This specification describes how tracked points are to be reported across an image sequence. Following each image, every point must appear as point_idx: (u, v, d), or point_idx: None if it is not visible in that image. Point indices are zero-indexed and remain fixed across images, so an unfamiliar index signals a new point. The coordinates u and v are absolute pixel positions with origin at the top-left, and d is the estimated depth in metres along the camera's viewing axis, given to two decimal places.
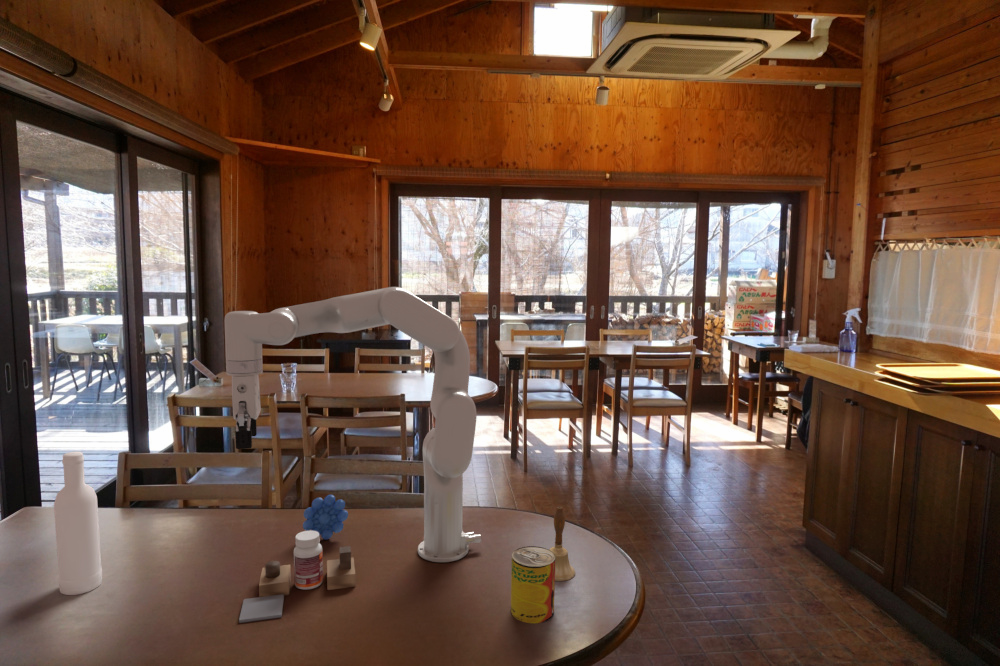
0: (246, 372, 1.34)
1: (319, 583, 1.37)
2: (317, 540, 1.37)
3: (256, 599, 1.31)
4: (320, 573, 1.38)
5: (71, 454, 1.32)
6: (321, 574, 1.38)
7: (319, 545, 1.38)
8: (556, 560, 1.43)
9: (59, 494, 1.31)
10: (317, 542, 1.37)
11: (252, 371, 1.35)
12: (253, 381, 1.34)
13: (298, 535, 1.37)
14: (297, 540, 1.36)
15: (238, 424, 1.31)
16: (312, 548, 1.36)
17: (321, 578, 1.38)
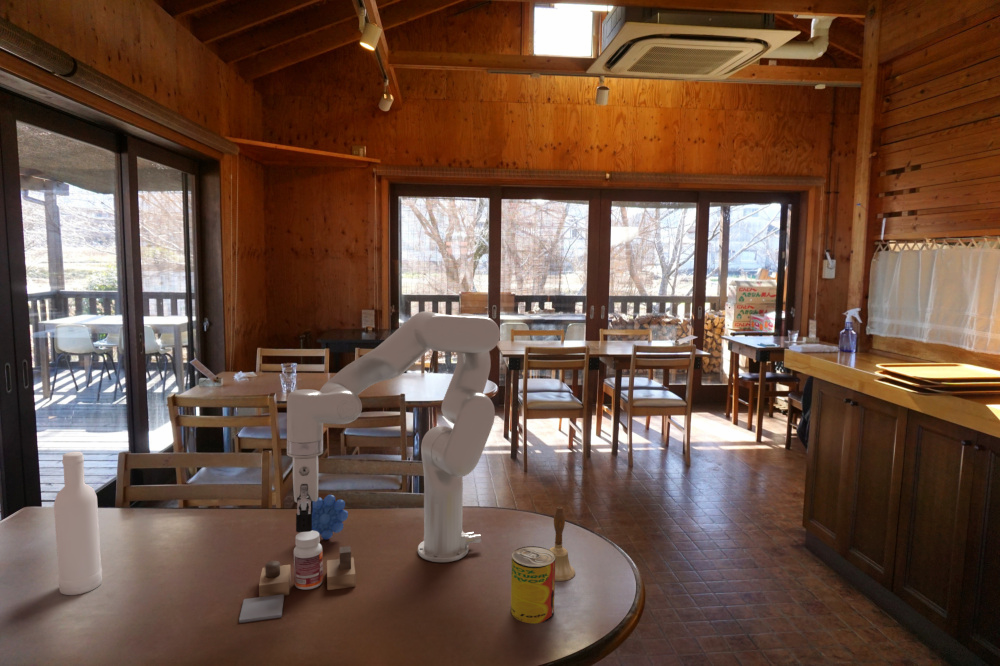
0: (308, 454, 1.32)
1: (319, 583, 1.37)
2: (317, 540, 1.37)
3: (256, 599, 1.31)
4: (320, 573, 1.38)
5: (71, 454, 1.32)
6: (321, 574, 1.38)
7: (319, 545, 1.38)
8: (556, 560, 1.43)
9: (59, 494, 1.31)
10: (317, 542, 1.37)
11: (314, 452, 1.33)
12: (315, 463, 1.32)
13: (298, 535, 1.37)
14: (297, 540, 1.36)
15: (300, 509, 1.29)
16: (312, 548, 1.36)
17: (321, 578, 1.38)
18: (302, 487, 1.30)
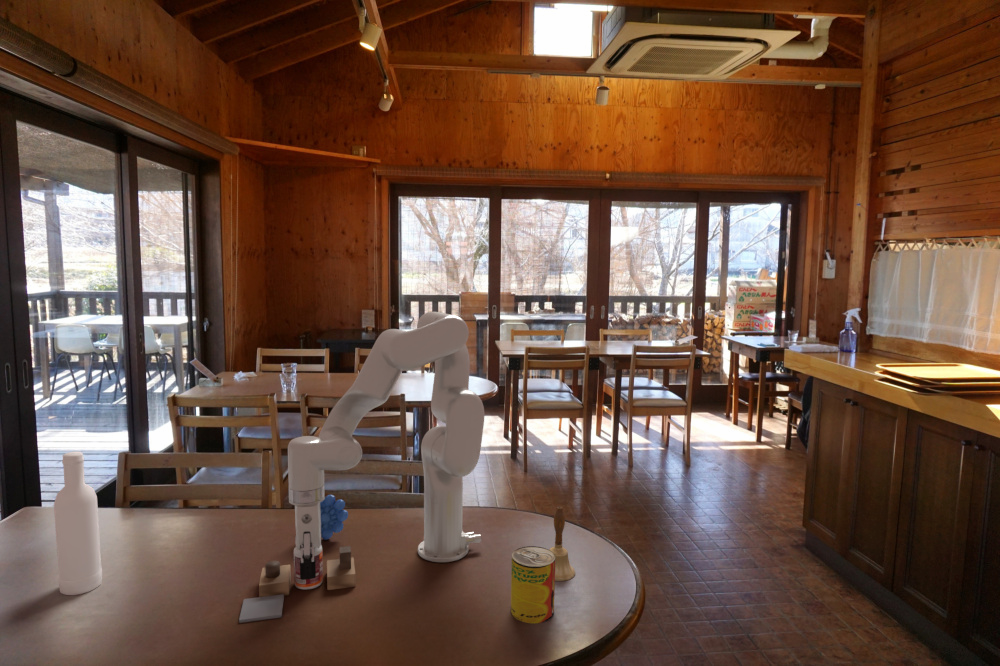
0: (310, 501, 1.33)
1: (319, 583, 1.37)
2: None
3: (256, 599, 1.31)
4: (320, 573, 1.38)
5: (71, 454, 1.32)
6: (321, 574, 1.38)
7: None
8: (556, 560, 1.43)
9: (59, 494, 1.31)
10: None
11: (316, 500, 1.34)
12: (317, 510, 1.33)
13: None
14: None
15: (304, 558, 1.32)
16: None
17: (321, 578, 1.38)
18: (305, 537, 1.32)
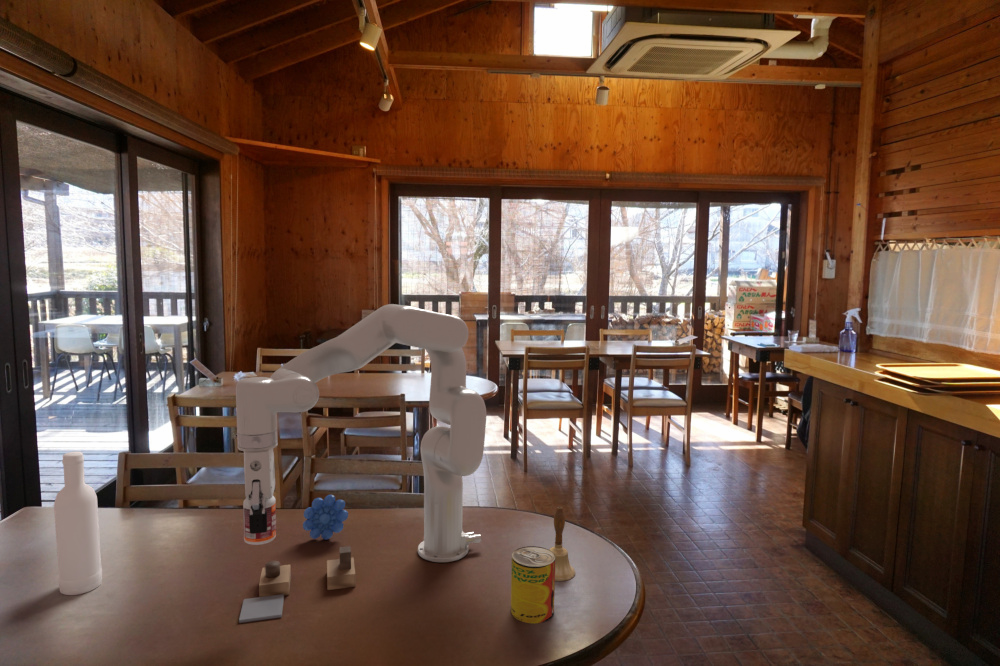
0: (260, 447, 1.21)
1: (271, 538, 1.25)
2: None
3: (256, 599, 1.31)
4: (273, 527, 1.25)
5: (71, 454, 1.32)
6: (273, 529, 1.26)
7: (272, 497, 1.26)
8: (556, 560, 1.43)
9: (59, 494, 1.31)
10: None
11: (266, 445, 1.22)
12: (268, 457, 1.21)
13: None
14: None
15: (252, 508, 1.19)
16: None
17: (273, 533, 1.26)
18: (254, 486, 1.20)
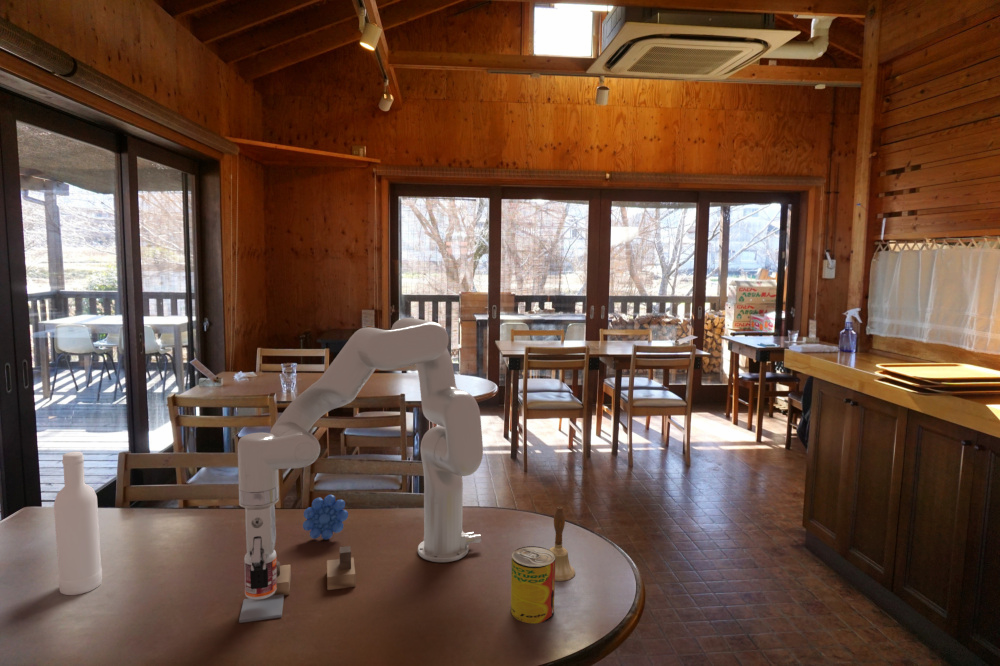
0: (261, 504, 1.22)
1: (271, 593, 1.26)
2: None
3: (256, 599, 1.31)
4: (273, 582, 1.27)
5: (71, 454, 1.32)
6: (274, 583, 1.27)
7: None
8: (556, 560, 1.43)
9: (59, 494, 1.31)
10: None
11: (268, 502, 1.23)
12: (269, 513, 1.22)
13: None
14: None
15: (254, 565, 1.21)
16: None
17: (274, 587, 1.27)
18: (255, 543, 1.21)
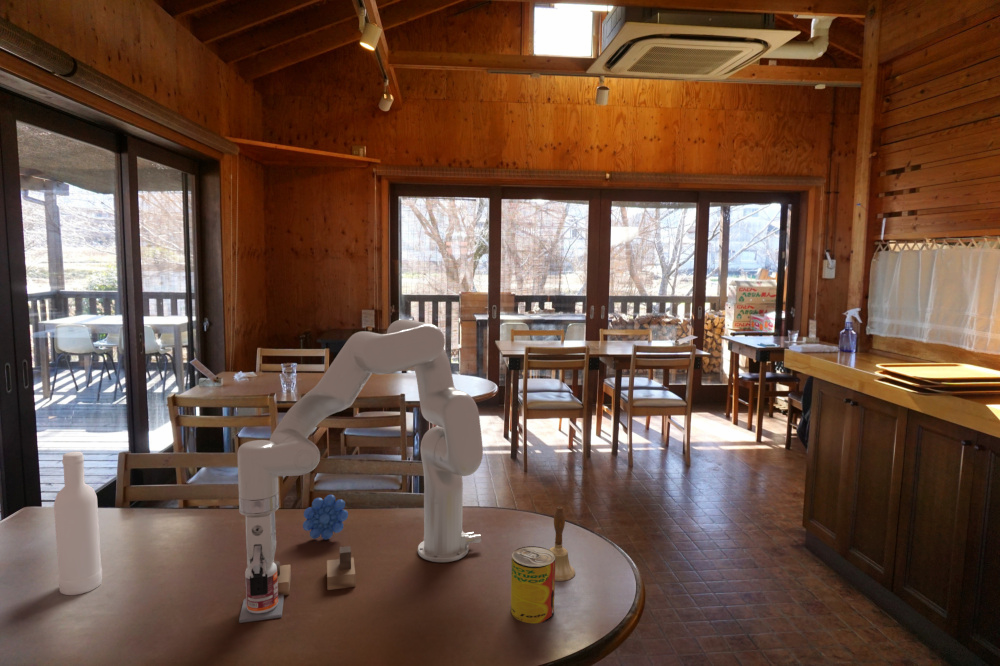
0: (261, 511, 1.22)
1: (273, 606, 1.27)
2: None
3: None
4: (275, 595, 1.27)
5: (71, 454, 1.32)
6: (275, 596, 1.27)
7: (273, 565, 1.28)
8: (556, 560, 1.43)
9: (59, 494, 1.31)
10: (271, 562, 1.26)
11: (268, 509, 1.23)
12: (269, 521, 1.23)
13: None
14: None
15: (253, 572, 1.19)
16: None
17: (275, 601, 1.27)
18: (255, 548, 1.21)
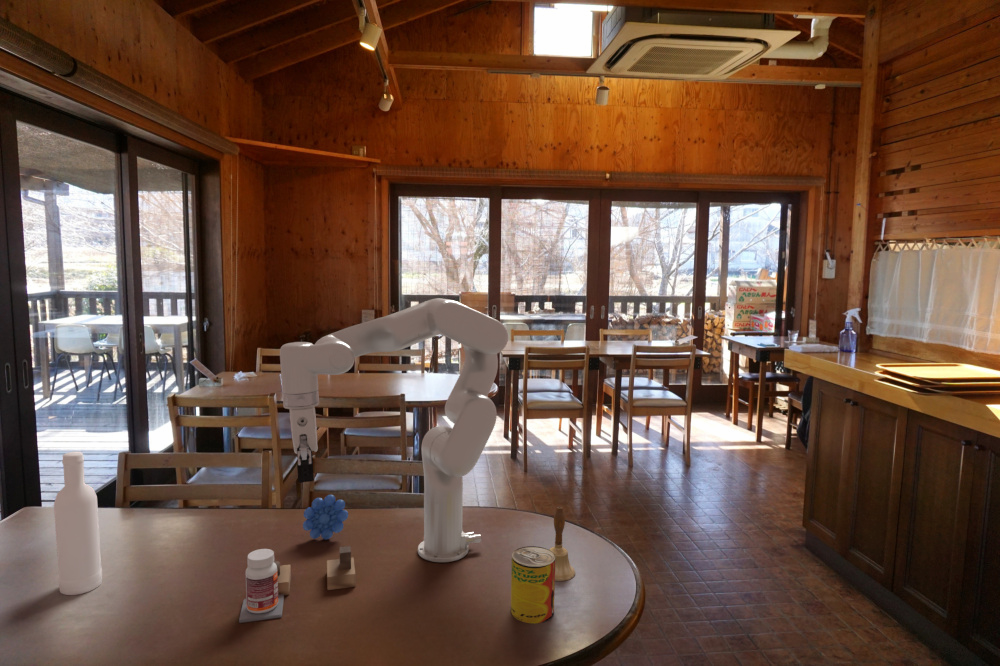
0: (305, 405, 1.33)
1: (273, 606, 1.27)
2: (271, 560, 1.26)
3: None
4: (275, 595, 1.27)
5: (71, 454, 1.32)
6: (276, 596, 1.27)
7: (274, 565, 1.28)
8: (556, 560, 1.43)
9: (59, 494, 1.31)
10: (271, 562, 1.26)
11: (310, 403, 1.33)
12: (312, 413, 1.33)
13: (251, 554, 1.27)
14: (249, 560, 1.25)
15: (301, 458, 1.30)
16: (265, 568, 1.26)
17: (276, 601, 1.27)
18: (301, 437, 1.31)
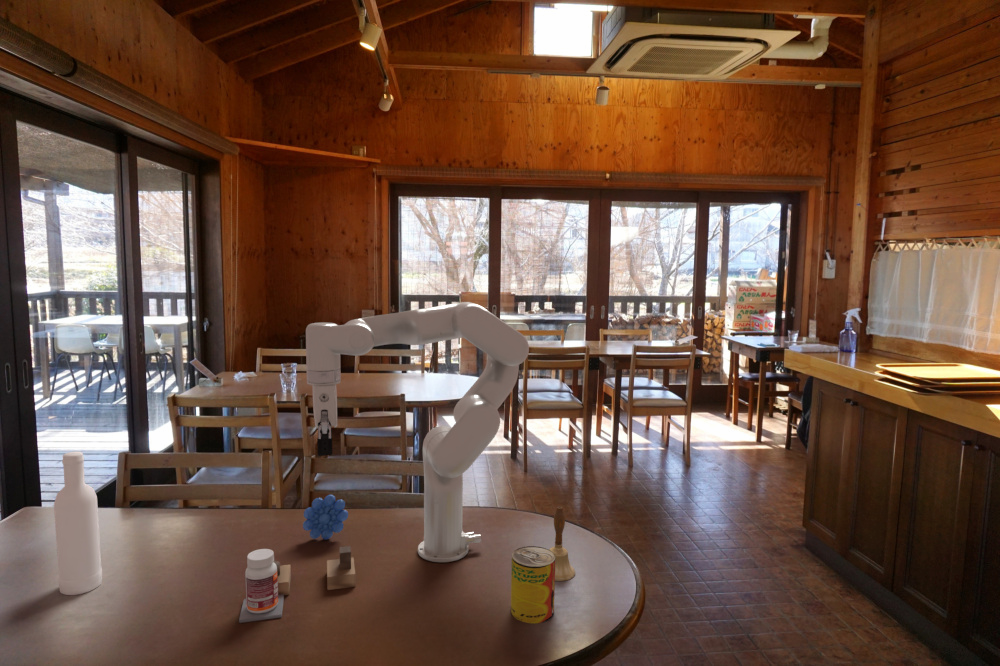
0: (327, 382, 1.39)
1: (273, 606, 1.27)
2: (271, 560, 1.26)
3: None
4: (275, 595, 1.27)
5: (71, 454, 1.32)
6: (275, 596, 1.27)
7: (273, 565, 1.28)
8: (556, 560, 1.43)
9: (59, 494, 1.31)
10: (271, 562, 1.26)
11: (332, 381, 1.40)
12: (334, 390, 1.39)
13: (250, 554, 1.27)
14: (249, 560, 1.25)
15: (321, 432, 1.36)
16: (265, 568, 1.26)
17: (276, 601, 1.27)
18: (322, 412, 1.38)
